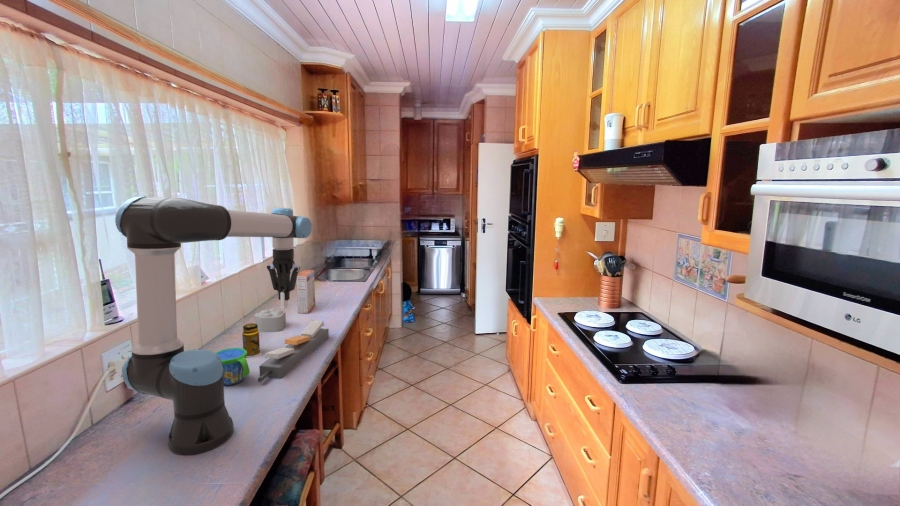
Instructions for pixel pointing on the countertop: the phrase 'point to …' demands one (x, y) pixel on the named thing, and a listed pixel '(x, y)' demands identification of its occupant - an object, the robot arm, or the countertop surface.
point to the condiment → (251, 339)
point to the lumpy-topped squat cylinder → (270, 320)
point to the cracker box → (305, 291)
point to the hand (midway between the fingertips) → (284, 307)
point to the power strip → (291, 357)
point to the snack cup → (234, 365)
